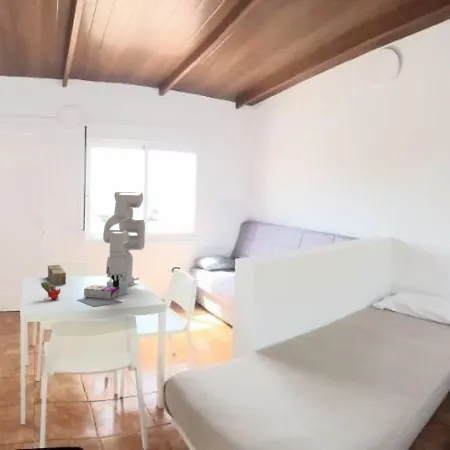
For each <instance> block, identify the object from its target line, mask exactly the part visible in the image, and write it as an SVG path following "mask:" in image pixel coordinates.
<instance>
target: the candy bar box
mask: <svg viewBox="0 0 450 450" xmlns="http://www.w3.org/2000/svg"><path fill="white" fill-rule="evenodd" d="M119 290H120V288H119V287H117V288H115V287H112V286H107V285H99V284H93V285H90V286H87V287H85V288H84V289H83V297H84V298H104V299H112V298H113V299H115V298H116V297H118V296H120V294H119V292H120V291H119Z"/></svg>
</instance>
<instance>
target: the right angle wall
mask: <svg viewBox="0 0 450 450" xmlns="http://www.w3.org/2000/svg"><path fill="white" fill-rule="evenodd" d="M106 286H112V287H113V280H112V278H108V280H107V281H106ZM119 288H120V290H119V291H120V292H119V295H128V294H129V293H128V292H129V286H128V282H119Z"/></svg>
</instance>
